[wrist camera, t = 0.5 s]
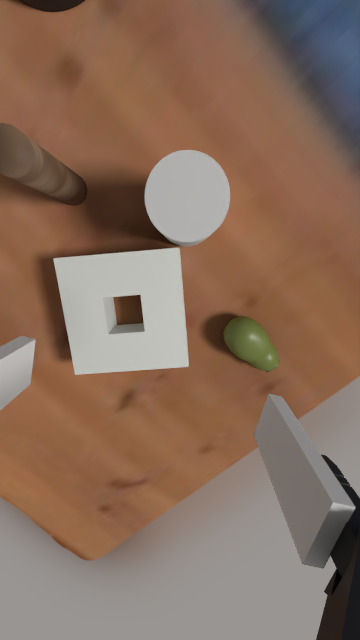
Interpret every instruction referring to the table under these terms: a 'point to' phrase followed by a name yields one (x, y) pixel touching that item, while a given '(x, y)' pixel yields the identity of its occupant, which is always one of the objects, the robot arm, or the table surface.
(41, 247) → the table surface
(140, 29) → the table surface
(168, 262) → the socket block
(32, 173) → the walnut dowel
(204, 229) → the grey cylinder peg
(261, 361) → the pear
